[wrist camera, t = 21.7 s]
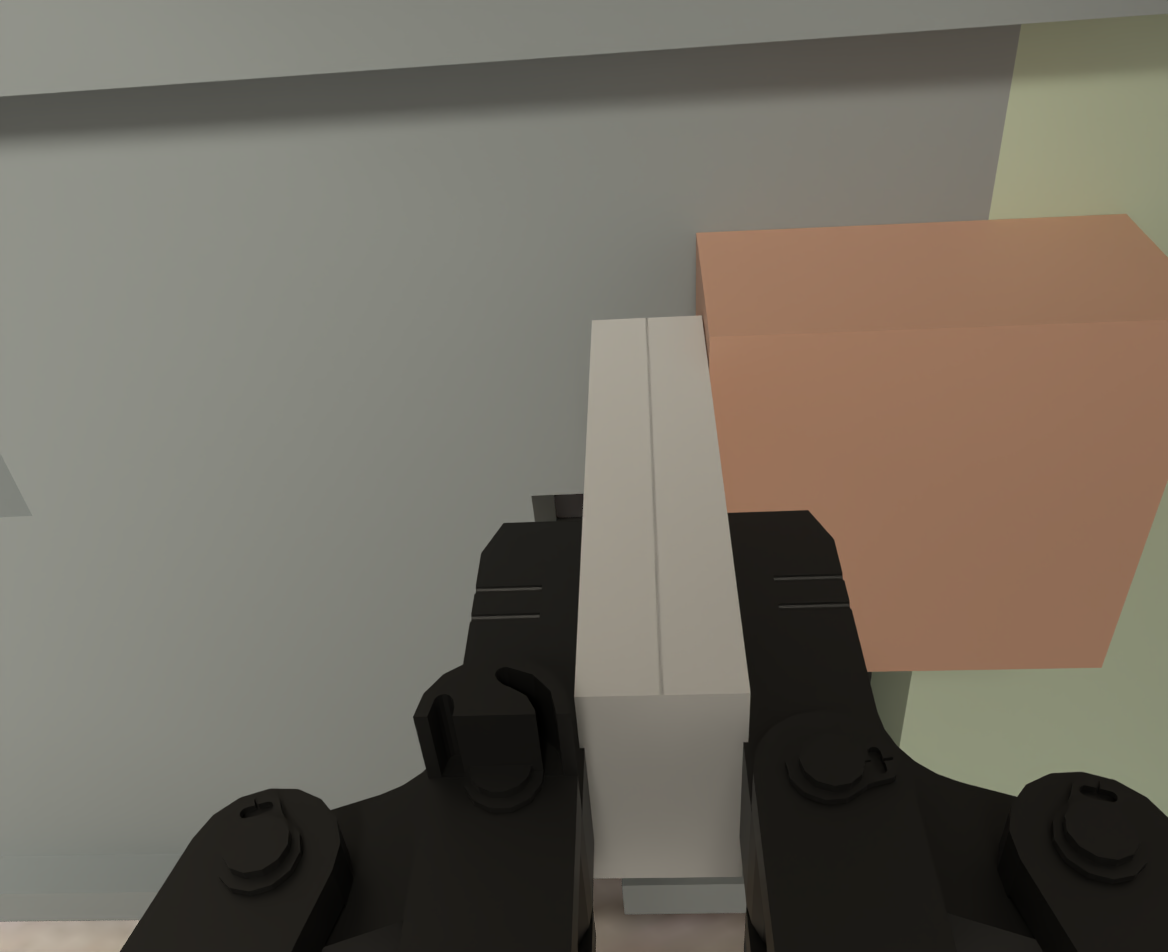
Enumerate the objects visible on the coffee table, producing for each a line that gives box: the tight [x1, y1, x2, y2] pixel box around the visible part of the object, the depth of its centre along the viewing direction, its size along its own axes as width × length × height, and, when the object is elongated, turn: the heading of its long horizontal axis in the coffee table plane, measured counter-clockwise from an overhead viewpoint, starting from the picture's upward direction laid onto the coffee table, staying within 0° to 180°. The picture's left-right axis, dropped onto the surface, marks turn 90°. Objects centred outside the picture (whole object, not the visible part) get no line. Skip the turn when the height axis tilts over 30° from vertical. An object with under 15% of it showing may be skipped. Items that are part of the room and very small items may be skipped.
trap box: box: [0, 0, 1168, 922], centre depth 20 cm, size 20×35×4 cm, turn 94°
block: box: [696, 214, 1168, 672], centre depth 15 cm, size 6×6×3 cm
